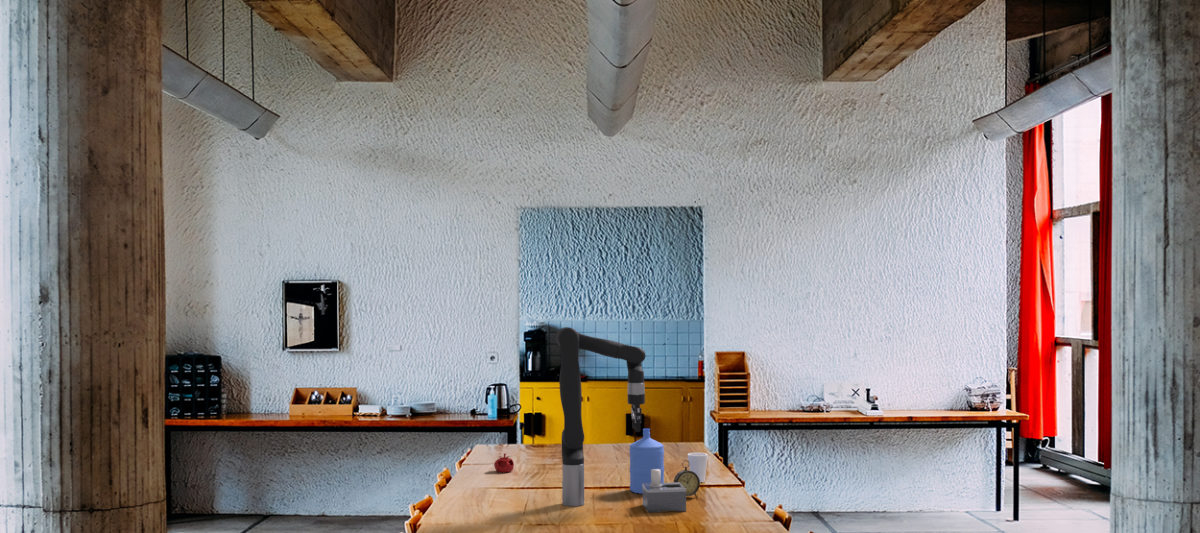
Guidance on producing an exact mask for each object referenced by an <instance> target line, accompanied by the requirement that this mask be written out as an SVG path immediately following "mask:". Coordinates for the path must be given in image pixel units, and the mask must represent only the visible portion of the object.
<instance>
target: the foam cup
mask: <svg viewBox="0 0 1200 533" xmlns="http://www.w3.org/2000/svg"><path fill="white" fill-rule="evenodd" d="M708 460H709V455H708V453H705V452H689V453H687V461H689V463H688V465H689V467H688V468H689V471H693V472H694V473H696V474H697V476H698V477H699V480H700V482H704V481H706V473H707V468H708ZM704 483H705V482H704Z"/></svg>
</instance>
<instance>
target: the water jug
mask: <svg viewBox="0 0 1200 533" xmlns="http://www.w3.org/2000/svg"><path fill="white" fill-rule="evenodd" d="M650 430H651V428H643V429H642V435H643V436H642V438H640V439H638V440H636V441H635V442H632V443H631V444H629V482H630V484H629V490H630V492H631V493H633V492H634V494H637V493H639V494H638V495H643V490H642V483H651V470H652V469H660V470H661V483H665V475H664V474H665V473H664V472H665V465H664V464H665V463H664V458H665V457H664V454H665V448H664V444H663V443H661V442H659V441H657V440H655V439H653V438H651V432H650Z"/></svg>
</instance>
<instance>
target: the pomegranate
mask: <svg viewBox="0 0 1200 533" xmlns="http://www.w3.org/2000/svg"><path fill="white" fill-rule="evenodd" d="M506 454H507V453H506V452H505V453H503V456H501V455H500V456H498V458H497V459H496V460H495V461H494V465H493V466H494V469H495V471H496V472H497V473H499V472H506V473H510V471H511V472H512V471H513V470H514V466H515V462H514V460H513V459H512V458H510V457H511V455H510V456H509V455H508V456H507V455H506Z"/></svg>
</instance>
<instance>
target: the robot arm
mask: <svg viewBox="0 0 1200 533" xmlns="http://www.w3.org/2000/svg"><path fill="white" fill-rule="evenodd" d="M554 339H555V342H556V344H557V346H559V350H560V355H561V356H560V357H561V366H560V371H559V372H560V373H559V382H558V383H559V395H560V396H559V397H560V403H561V407H562V412H563V420H564V421H563V422H564V423H563V425H564V426H563V429H562V433H561V460H562V463H561V464H562V480H561V487H562V490H561V494H562V496H561V497H562V501H561V503H562V506H564V507H580V506H583V505H585V456H584V441H585V433H584V427H583V426H584V425H583V420H582V396H583V395H582V380H581V378H582V377H581V371H580V369H581V368H580V360H579V355H580V354H579V352H580V351H579V350H583V351H587V352H591V353H594V354H597V355H602V356H605V357H608V358H612V359H617V360H623V361H626V366H627V404H628V405H631V408H630V410H631V414H630V416H631V421H632V430H634V431H635V432H636V433H639V432H641V429H642V428H641V423H642V411H643V410H642V408H641V406H640V405H645V404H646V391H645V390H646V388H645V372H644V370H643V367H642V363H643V362H644V361H645V359H646V356H647V355H646V352H645V350H644V349H642V348H641V347H638V346H635V345H634V346H633V345H629V344H624V343H621V342H618V341H614V340H610V339H605V338H599V337H594V336H589V335H586V334H582V333H580V332H578V331H577V330H576V329H575V328H572V327H570V326H569V327H562V328H560V329H558V330H557V332H556V333H555V336H554Z"/></svg>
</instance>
